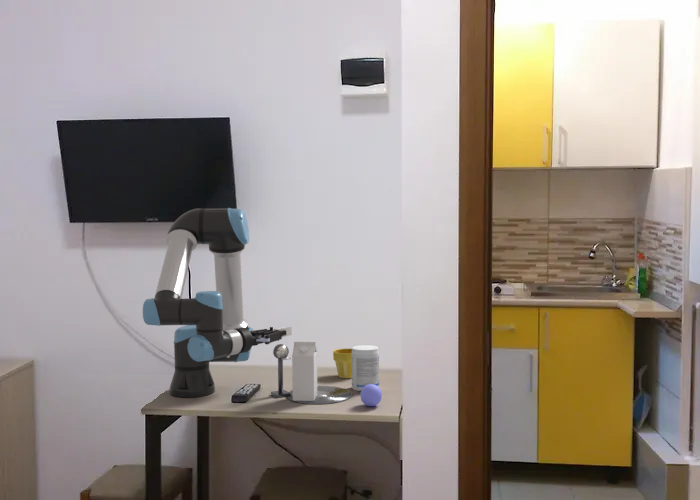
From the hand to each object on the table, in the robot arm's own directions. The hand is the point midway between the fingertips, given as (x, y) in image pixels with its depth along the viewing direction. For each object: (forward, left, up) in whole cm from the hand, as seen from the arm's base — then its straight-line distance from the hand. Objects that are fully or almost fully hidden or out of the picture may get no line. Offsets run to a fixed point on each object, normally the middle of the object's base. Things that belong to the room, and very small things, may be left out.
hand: (289, 330), depth 232 cm
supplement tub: (+31, +4, -24) cm, 40 cm away
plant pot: (+35, +23, -24) cm, 49 cm away
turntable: (+13, +5, -24) cm, 28 cm away
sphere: (+21, -15, -24) cm, 36 cm away
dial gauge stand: (+2, +12, -24) cm, 27 cm away
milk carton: (+7, +2, -24) cm, 25 cm away
